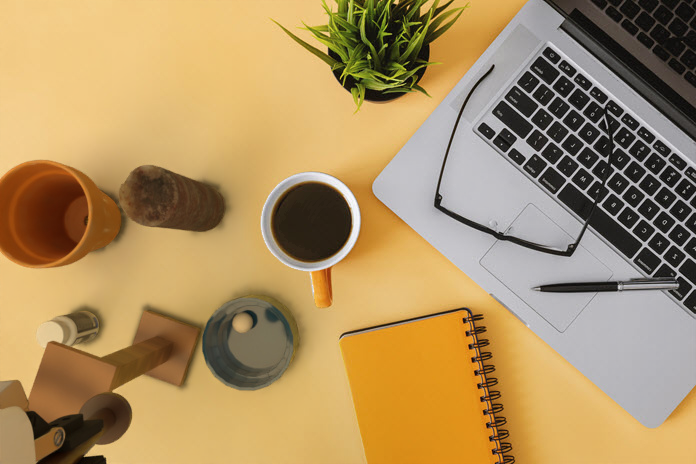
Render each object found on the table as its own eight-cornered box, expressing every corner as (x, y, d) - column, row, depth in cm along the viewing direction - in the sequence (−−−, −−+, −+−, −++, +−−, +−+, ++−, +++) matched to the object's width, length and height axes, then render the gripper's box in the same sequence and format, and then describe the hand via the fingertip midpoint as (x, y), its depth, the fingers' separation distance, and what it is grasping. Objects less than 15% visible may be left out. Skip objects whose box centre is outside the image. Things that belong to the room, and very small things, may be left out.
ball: (249, 338, 71) (235, 328, 69) (238, 334, 73) (224, 324, 71) (260, 320, 72) (247, 310, 70) (249, 317, 74) (236, 307, 72)
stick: (141, 425, 40) (89, 490, 28) (94, 451, 39) (22, 529, 28) (118, 382, 40) (57, 430, 28) (71, 408, 39) (-12, 468, 28)
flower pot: (124, 163, 76) (73, 145, 63) (150, 249, 75) (104, 249, 62) (40, 191, 76) (-27, 178, 63) (65, 277, 75) (1, 282, 62)
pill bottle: (73, 308, 75) (35, 315, 67) (102, 313, 75) (68, 320, 66) (68, 339, 75) (30, 350, 67) (97, 343, 75) (62, 355, 66)
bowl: (283, 392, 73) (276, 403, 68) (203, 364, 74) (189, 373, 68) (310, 310, 73) (305, 314, 68) (230, 283, 74) (219, 285, 69)
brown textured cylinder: (237, 216, 75) (188, 202, 55) (198, 243, 75) (135, 239, 55) (210, 175, 75) (152, 147, 55) (172, 202, 75) (99, 184, 55)
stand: (182, 384, 74) (94, 446, 50) (128, 365, 74) (16, 417, 51) (201, 328, 74) (122, 363, 51) (147, 309, 75) (44, 335, 51)
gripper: (-378, 425, 16) (25, 334, 34) (-366, 943, 15) (40, 564, 33) (-160, 404, 15) (128, 323, 34) (-135, 932, 15) (146, 556, 33)
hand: (83, 444), depth 33 cm, fingers closed on stick, 2 cm apart
